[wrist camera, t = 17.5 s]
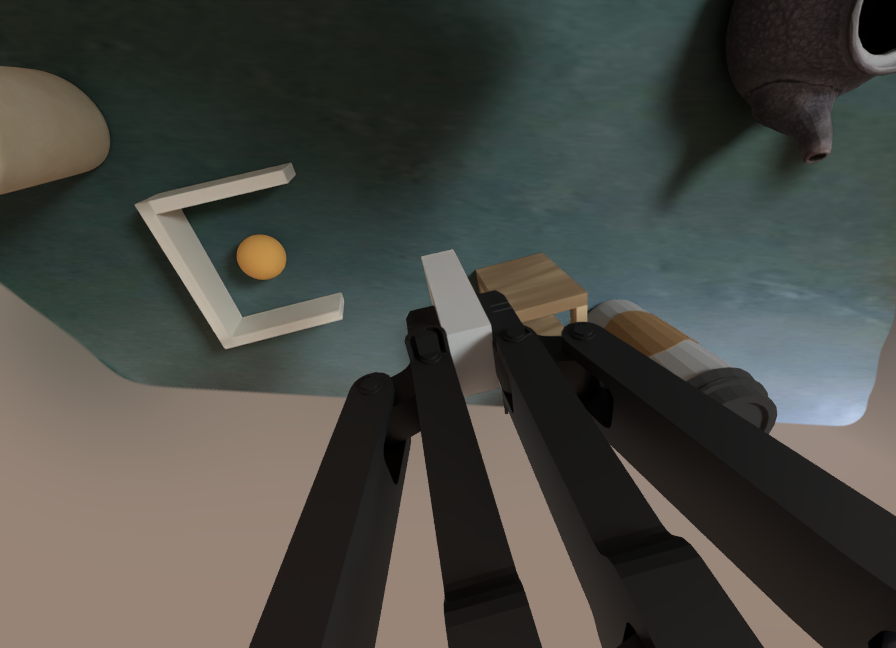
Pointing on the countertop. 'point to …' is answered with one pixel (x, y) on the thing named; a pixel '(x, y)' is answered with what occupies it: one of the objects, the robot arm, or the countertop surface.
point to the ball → (261, 257)
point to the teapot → (807, 60)
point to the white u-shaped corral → (201, 274)
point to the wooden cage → (536, 292)
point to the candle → (46, 129)
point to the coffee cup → (687, 360)
